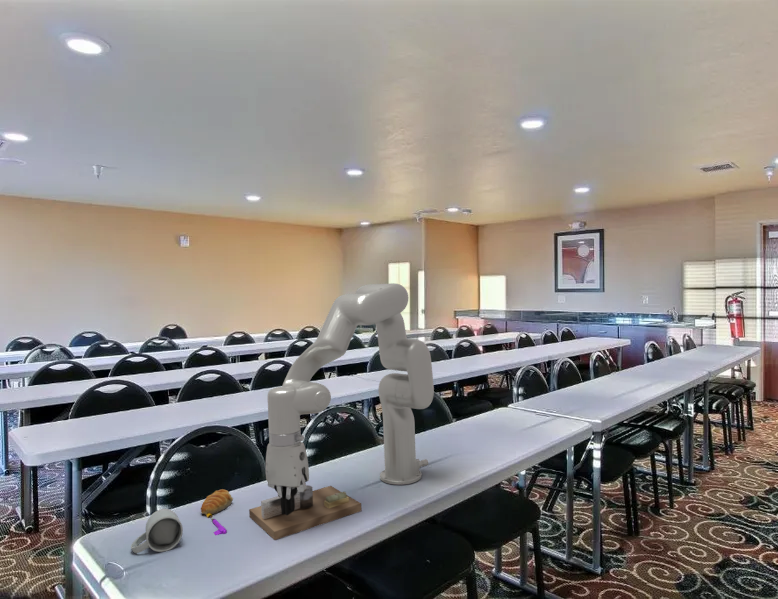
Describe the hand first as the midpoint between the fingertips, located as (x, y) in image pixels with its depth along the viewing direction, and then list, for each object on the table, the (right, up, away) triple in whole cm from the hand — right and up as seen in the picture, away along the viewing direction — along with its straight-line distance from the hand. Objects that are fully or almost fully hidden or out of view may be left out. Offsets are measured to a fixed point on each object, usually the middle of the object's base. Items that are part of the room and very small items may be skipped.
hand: (288, 512), depth 126 cm
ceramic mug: (-29, -5, -7) cm, 30 cm away
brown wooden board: (+3, -3, +7) cm, 9 cm away
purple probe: (-20, -5, +4) cm, 21 cm away
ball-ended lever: (-1, -1, +4) cm, 5 cm away
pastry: (-22, -4, +13) cm, 26 cm away
